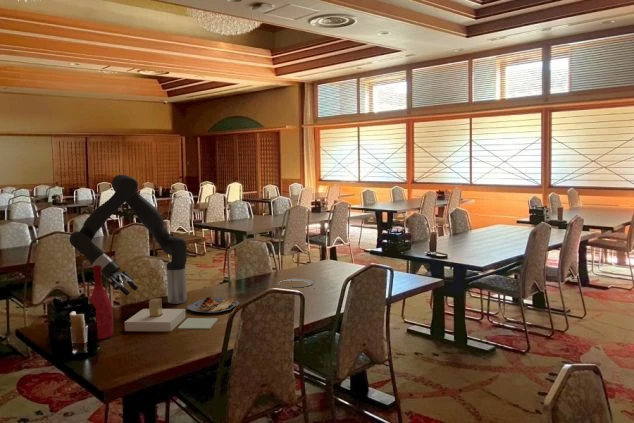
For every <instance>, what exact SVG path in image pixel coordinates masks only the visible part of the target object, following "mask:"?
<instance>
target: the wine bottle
mask: <svg viewBox="0 0 634 423" xmlns="http://www.w3.org/2000/svg"><path fill="white" fill-rule="evenodd" d="M92 269H93V277H94V287H93V291H92V293H91V296H90V298H89V301H90V303H91V302H92V303H93V304H94V305H95V306H94V307H95V308H96V321H97V328H98V338H99V339H98V340H104V339H107V338H111V337H112V336H113V335H114V333H115V332H114V310H113V306H112V305H113V304H112V303H111V299H110V298H109V296H108V294H107V292H106V291H105V289H104V285H103V280H102V276H103V275H102V267H101V266H100V265H95V266H92ZM92 303H91V304H92Z"/></svg>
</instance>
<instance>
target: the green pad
mask: <svg viewBox="0 0 634 423" xmlns="http://www.w3.org/2000/svg"><path fill="white" fill-rule="evenodd" d="M218 321H219V318H217V317H216V318H215V317H213V318H212V317H188V318H185V319H184V320H183V321H182V322H181V323H180V324H179V326H178V327H177V330H211V329H212V328H213V326H214V325H215V324H217V322H218Z"/></svg>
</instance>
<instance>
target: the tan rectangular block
mask: <svg viewBox="0 0 634 423" xmlns="http://www.w3.org/2000/svg"><path fill="white" fill-rule="evenodd" d="M148 309H149V313H150V317H160V316H162V309H163V302H162V298H151V299H150V300H148Z"/></svg>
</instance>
